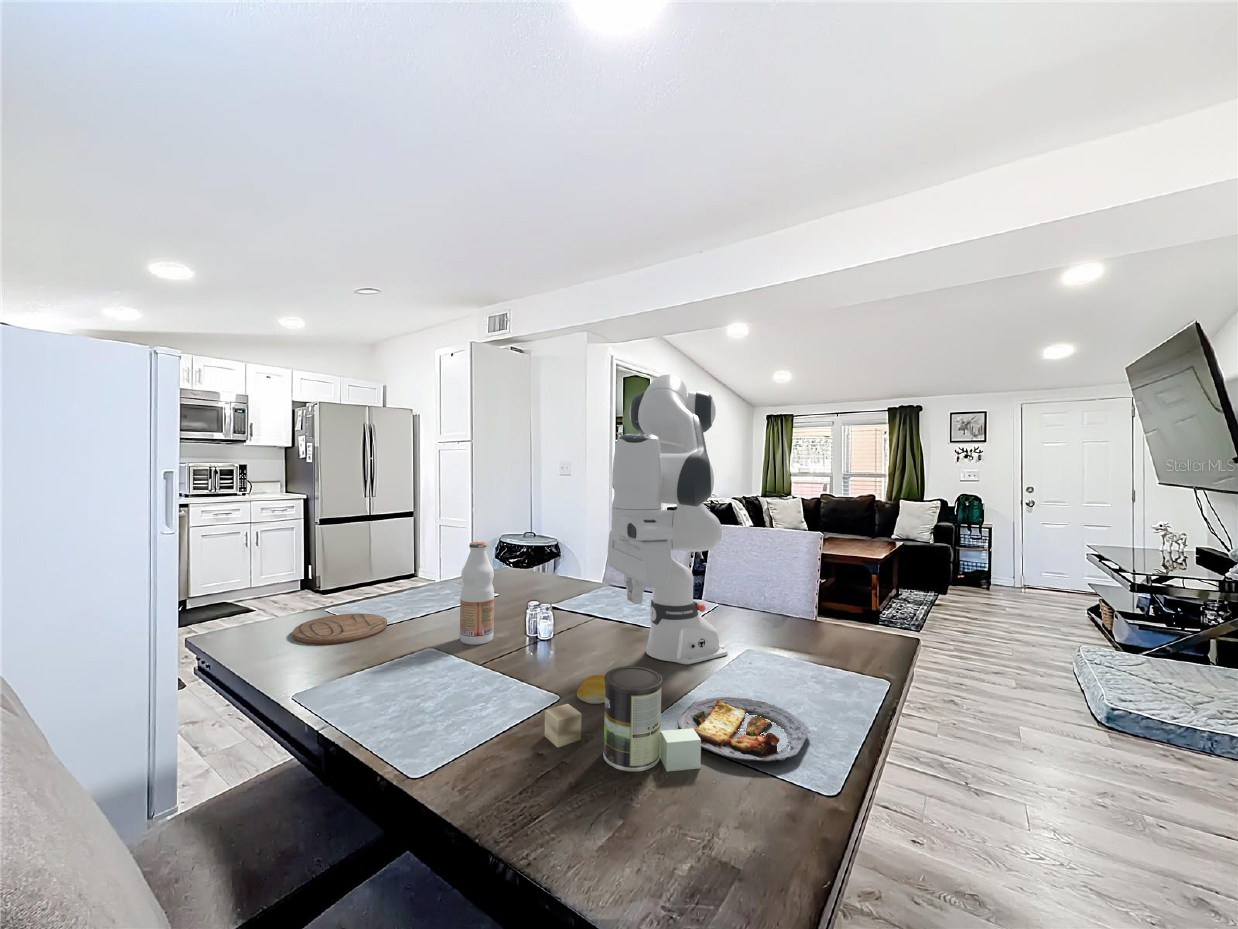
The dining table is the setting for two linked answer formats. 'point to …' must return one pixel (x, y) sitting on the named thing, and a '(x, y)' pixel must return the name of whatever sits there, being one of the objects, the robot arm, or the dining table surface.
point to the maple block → (562, 725)
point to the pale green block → (680, 749)
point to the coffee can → (632, 718)
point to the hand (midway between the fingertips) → (634, 602)
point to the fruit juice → (477, 597)
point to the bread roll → (592, 690)
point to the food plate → (725, 717)
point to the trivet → (339, 629)
